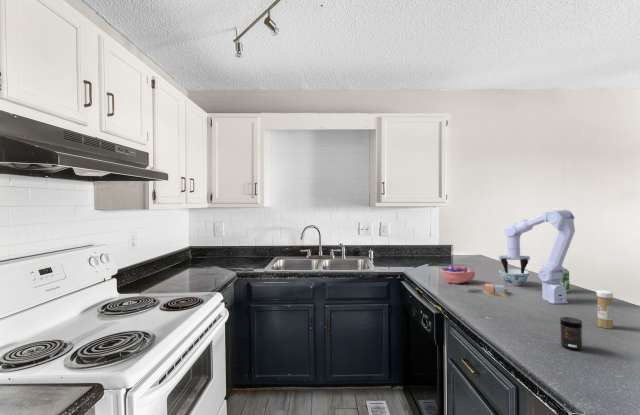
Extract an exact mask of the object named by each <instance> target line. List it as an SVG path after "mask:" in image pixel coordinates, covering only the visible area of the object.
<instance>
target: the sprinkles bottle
mask: <svg viewBox="0 0 640 415" xmlns="http://www.w3.org/2000/svg"><path fill="white" fill-rule="evenodd" d="M613 293H614V292H612V291H610V290H609V291H608V290H604V289H603V290H602V289H601V290H600V289H598V290H596V296H597V297H596V298H597V302H596V303H597V309H596V311H597V326H598V328H599V327H600V328H602V329H607V330H609V329H614V323H613V322H614V320H613V319H614V314H613V313H614V306H613V298H614V296H613V295H614V294H613Z"/></svg>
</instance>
